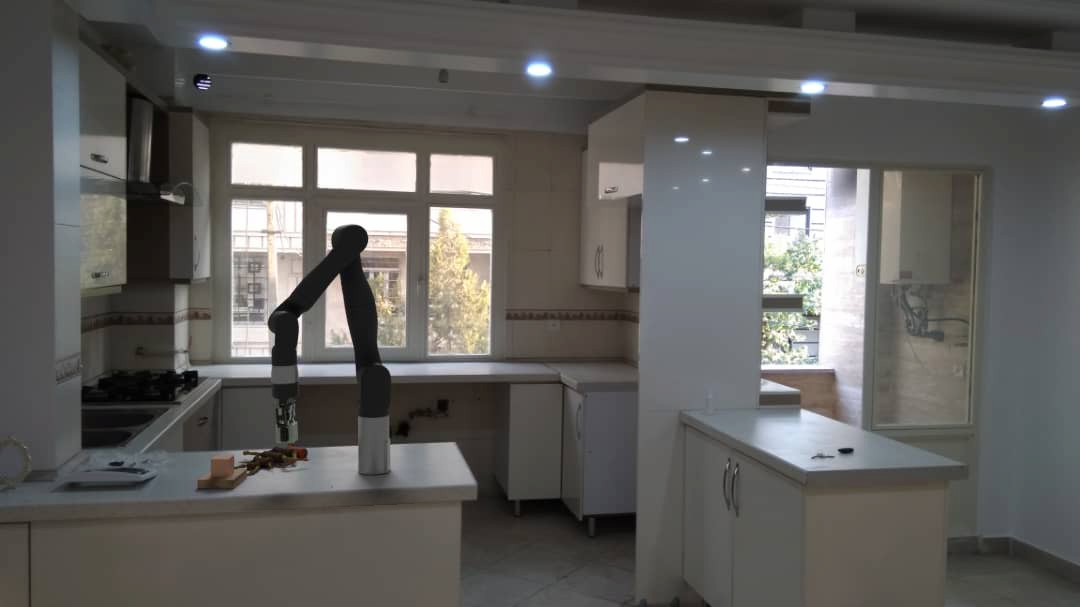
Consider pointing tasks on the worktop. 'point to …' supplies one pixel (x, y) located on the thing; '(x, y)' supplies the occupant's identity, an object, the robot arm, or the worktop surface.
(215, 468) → the terracotta block
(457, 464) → the worktop surface
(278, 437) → the sage block
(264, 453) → the toy
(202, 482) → the base board
